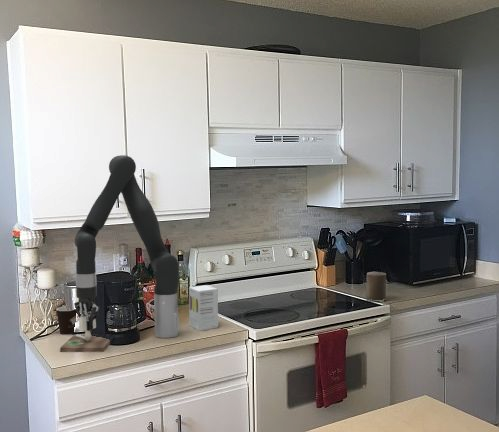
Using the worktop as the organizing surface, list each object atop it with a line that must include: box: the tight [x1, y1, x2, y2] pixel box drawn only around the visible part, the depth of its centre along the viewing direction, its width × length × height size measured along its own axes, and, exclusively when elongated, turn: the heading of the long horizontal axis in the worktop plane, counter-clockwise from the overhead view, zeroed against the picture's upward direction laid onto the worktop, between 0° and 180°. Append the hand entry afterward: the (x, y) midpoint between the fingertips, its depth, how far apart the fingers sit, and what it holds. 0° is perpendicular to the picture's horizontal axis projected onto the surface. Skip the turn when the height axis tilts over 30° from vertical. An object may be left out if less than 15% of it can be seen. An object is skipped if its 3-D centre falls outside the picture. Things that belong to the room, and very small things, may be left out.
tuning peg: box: [75, 315, 97, 341], centre depth 223 cm, size 8×6×9 cm
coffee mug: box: [56, 305, 77, 335], centre depth 239 cm, size 12×9×10 cm
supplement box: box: [188, 284, 219, 331], centre depth 245 cm, size 10×9×17 cm
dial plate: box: [59, 334, 111, 353], centre depth 221 cm, size 16×16×2 cm
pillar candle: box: [365, 270, 387, 300], centre depth 292 cm, size 10×10×15 cm
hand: (87, 329), depth 221 cm, fingers closed on tuning peg, 2 cm apart
